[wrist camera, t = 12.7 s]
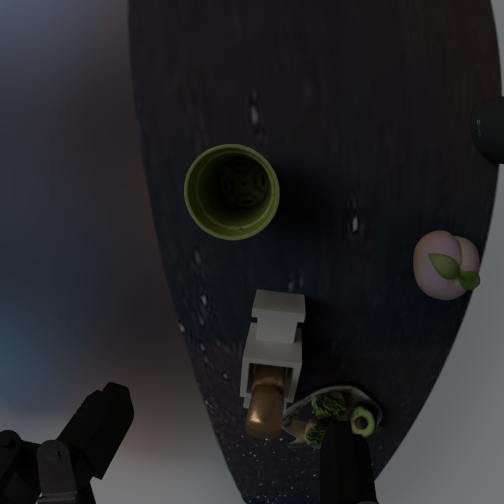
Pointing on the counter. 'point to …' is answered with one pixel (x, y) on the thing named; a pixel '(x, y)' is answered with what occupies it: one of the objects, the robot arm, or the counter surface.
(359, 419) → the salad plate
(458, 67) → the counter surface
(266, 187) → the plant pot
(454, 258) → the decorative fruit
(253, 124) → the counter surface
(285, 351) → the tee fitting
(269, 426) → the brown rounded rod
